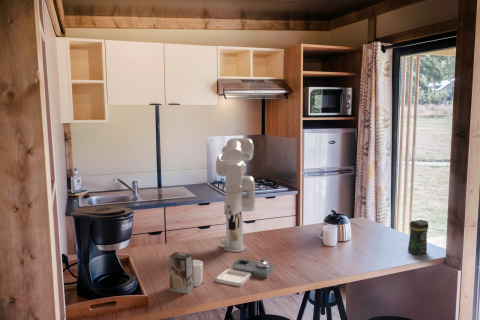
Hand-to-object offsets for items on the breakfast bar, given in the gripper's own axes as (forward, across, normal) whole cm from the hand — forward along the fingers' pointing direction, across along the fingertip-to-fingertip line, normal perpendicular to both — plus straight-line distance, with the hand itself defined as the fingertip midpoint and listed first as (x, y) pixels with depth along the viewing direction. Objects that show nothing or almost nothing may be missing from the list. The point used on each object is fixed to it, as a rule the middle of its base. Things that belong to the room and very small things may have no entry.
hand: (233, 228), depth 188 cm
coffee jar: (+25, -77, +77) cm, 112 cm away
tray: (+26, 0, 0) cm, 26 cm away
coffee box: (+26, +18, -17) cm, 36 cm away
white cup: (+26, +10, -15) cm, 32 cm away
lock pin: (+6, 0, 0) cm, 6 cm away
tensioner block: (+25, -11, +5) cm, 28 cm away
